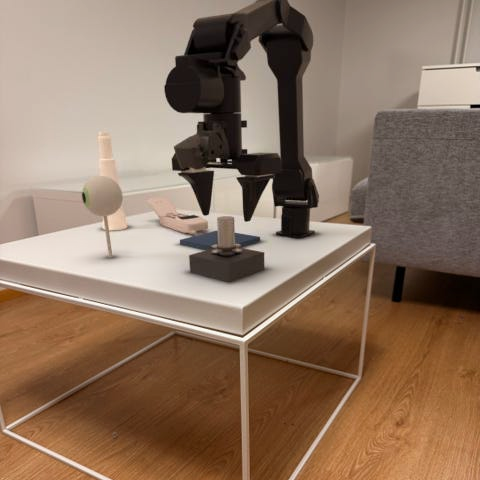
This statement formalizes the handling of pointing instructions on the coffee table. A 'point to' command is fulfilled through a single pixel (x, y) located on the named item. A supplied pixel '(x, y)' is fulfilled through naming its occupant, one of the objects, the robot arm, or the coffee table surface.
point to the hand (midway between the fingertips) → (225, 218)
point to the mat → (211, 239)
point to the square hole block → (226, 264)
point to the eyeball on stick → (102, 200)
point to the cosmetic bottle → (109, 170)
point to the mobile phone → (176, 217)
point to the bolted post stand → (226, 237)
